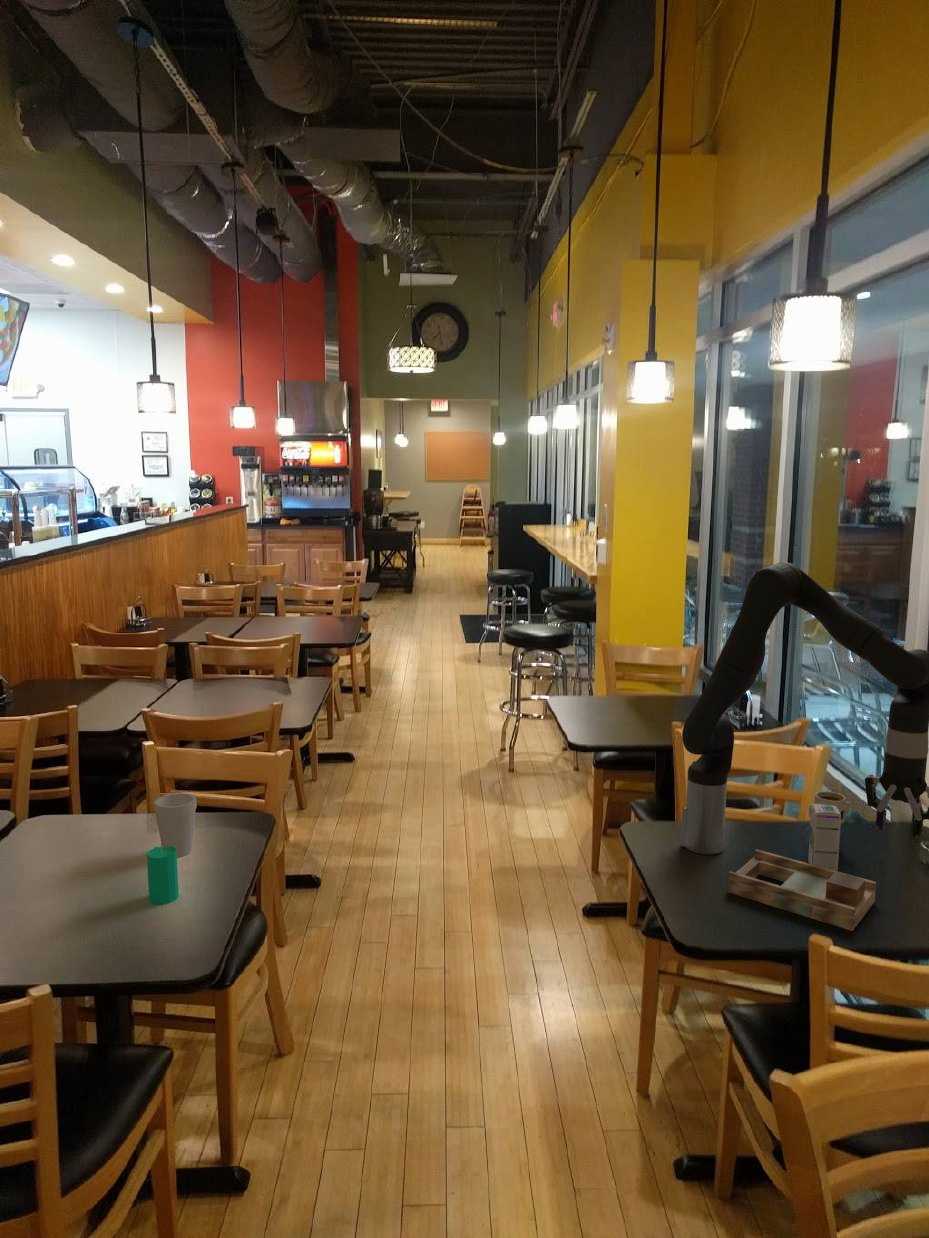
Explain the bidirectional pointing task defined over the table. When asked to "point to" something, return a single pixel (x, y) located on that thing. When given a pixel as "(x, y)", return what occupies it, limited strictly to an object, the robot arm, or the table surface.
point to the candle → (162, 875)
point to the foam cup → (176, 821)
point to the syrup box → (824, 836)
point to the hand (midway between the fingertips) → (898, 832)
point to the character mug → (832, 802)
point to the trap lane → (797, 889)
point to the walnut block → (845, 888)
